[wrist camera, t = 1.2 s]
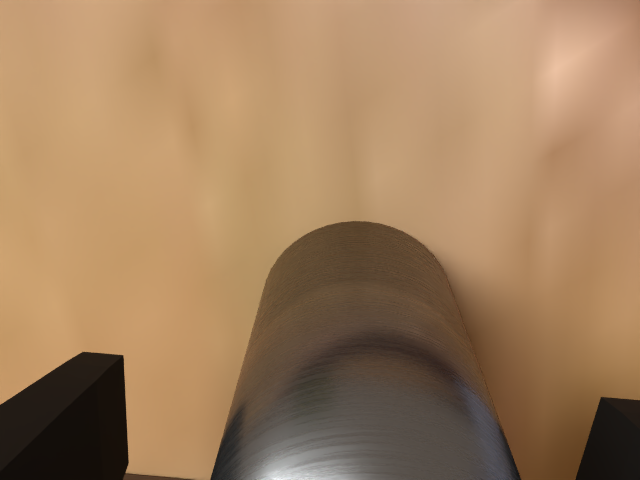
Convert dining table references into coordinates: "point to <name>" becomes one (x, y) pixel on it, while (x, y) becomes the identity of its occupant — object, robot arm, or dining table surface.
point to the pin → (361, 370)
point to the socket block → (146, 477)
